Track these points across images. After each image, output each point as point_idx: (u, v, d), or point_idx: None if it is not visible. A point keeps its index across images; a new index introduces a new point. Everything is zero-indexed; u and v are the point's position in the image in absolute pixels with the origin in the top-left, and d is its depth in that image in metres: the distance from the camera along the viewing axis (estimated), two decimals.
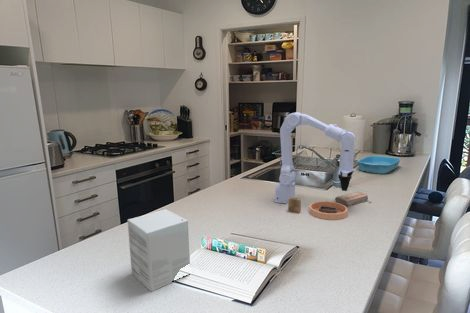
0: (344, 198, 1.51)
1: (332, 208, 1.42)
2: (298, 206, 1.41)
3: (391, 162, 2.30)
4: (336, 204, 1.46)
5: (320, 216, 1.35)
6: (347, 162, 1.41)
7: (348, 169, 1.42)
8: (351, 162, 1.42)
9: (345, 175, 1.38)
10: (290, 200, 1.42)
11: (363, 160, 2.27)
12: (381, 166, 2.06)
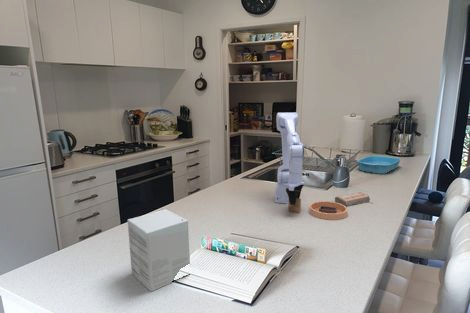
0: (343, 198, 1.51)
1: (332, 208, 1.42)
2: (298, 206, 1.41)
3: (391, 162, 2.30)
4: (336, 204, 1.46)
5: (320, 216, 1.35)
6: (295, 175, 1.37)
7: (296, 182, 1.38)
8: (299, 175, 1.38)
9: (291, 189, 1.34)
10: None
11: (363, 160, 2.27)
12: (380, 166, 2.06)
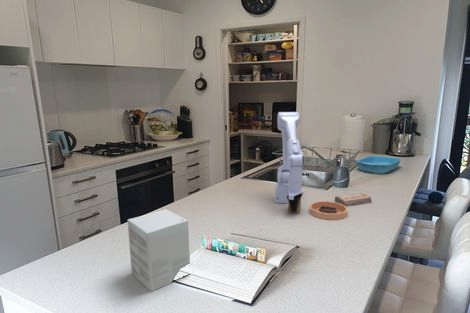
0: (343, 198, 1.51)
1: (332, 208, 1.42)
2: (298, 206, 1.41)
3: (392, 162, 2.30)
4: (336, 204, 1.46)
5: (320, 216, 1.35)
6: (294, 184, 1.38)
7: (296, 191, 1.39)
8: (299, 184, 1.38)
9: (291, 198, 1.35)
10: None
11: (363, 160, 2.28)
12: (379, 166, 2.06)
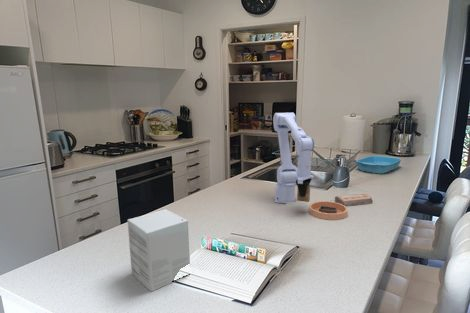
0: (342, 198, 1.51)
1: (332, 208, 1.42)
2: (307, 192, 1.39)
3: (392, 162, 2.29)
4: (336, 204, 1.46)
5: (320, 216, 1.35)
6: (303, 168, 1.36)
7: (305, 176, 1.37)
8: (308, 168, 1.36)
9: (300, 182, 1.33)
10: None
11: (363, 160, 2.28)
12: (379, 166, 2.06)
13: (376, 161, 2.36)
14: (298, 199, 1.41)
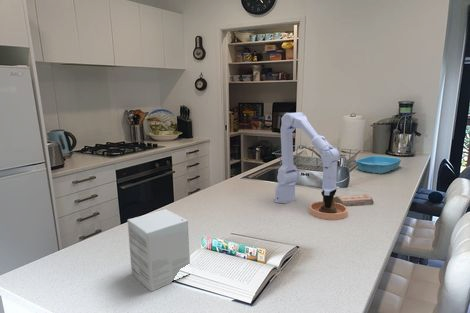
0: (342, 198, 1.51)
1: None
2: (333, 205, 1.39)
3: (393, 162, 2.29)
4: (336, 204, 1.46)
5: (320, 216, 1.35)
6: (330, 180, 1.36)
7: (331, 187, 1.36)
8: (334, 180, 1.36)
9: (327, 194, 1.33)
10: None
11: (363, 160, 2.28)
12: (378, 166, 2.07)
13: (377, 161, 2.36)
14: None
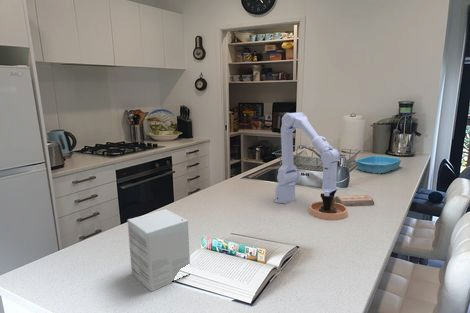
0: (342, 198, 1.51)
1: None
2: (333, 205, 1.39)
3: (393, 162, 2.29)
4: (336, 204, 1.46)
5: (320, 216, 1.35)
6: (330, 181, 1.36)
7: (331, 188, 1.36)
8: (334, 181, 1.36)
9: (327, 195, 1.33)
10: None
11: (363, 160, 2.28)
12: (377, 166, 2.07)
13: (377, 161, 2.36)
14: None
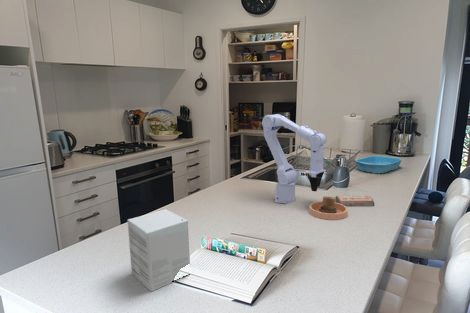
0: (341, 198, 1.51)
1: None
2: (333, 205, 1.39)
3: (393, 163, 2.29)
4: (336, 204, 1.46)
5: (320, 216, 1.35)
6: (316, 163, 1.43)
7: (318, 170, 1.44)
8: (320, 163, 1.44)
9: (314, 176, 1.40)
10: (324, 199, 1.40)
11: (363, 160, 2.28)
12: (376, 166, 2.07)
13: (377, 161, 2.36)
14: None
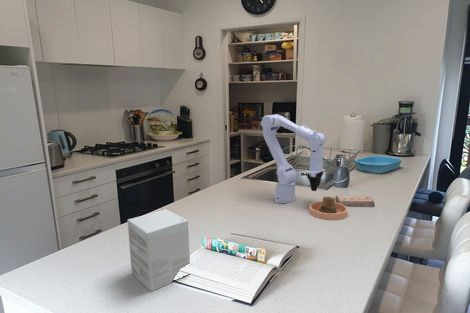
0: (341, 198, 1.51)
1: None
2: (333, 205, 1.39)
3: (394, 163, 2.28)
4: (336, 204, 1.46)
5: (320, 216, 1.35)
6: (316, 163, 1.44)
7: (317, 169, 1.44)
8: (320, 163, 1.44)
9: (313, 175, 1.41)
10: (324, 199, 1.40)
11: (363, 160, 2.29)
12: (376, 166, 2.07)
13: (378, 161, 2.36)
14: None
